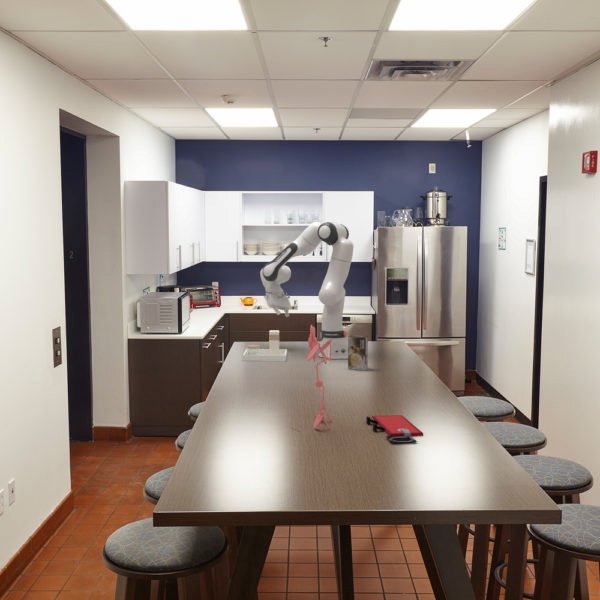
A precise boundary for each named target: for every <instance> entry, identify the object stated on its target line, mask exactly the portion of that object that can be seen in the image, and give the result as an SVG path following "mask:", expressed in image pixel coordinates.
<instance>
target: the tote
mask: <svg viewBox="0 0 600 600" xmlns="http://www.w3.org/2000/svg"><path fill="white" fill-rule="evenodd" d="M287 357H288V349H287V348H279V355H269V348H259V355H248V348H245V350H244V351H243V354H242V361H243V362H287Z"/></svg>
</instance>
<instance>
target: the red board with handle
mask: <svg viewBox="0 0 600 600" xmlns="http://www.w3.org/2000/svg"><path fill="white" fill-rule="evenodd" d="M365 418H366V423H367V424H368V425H369V424H370V425H371V424H372V432H374V433H377V432H378V430H379V431H383V432H385V434H387V435H386V436H385V437H386V438H387V439H388V441H389V442H390V443H411V442H412V443H413V442H417V443H418V441H417V440H416V439H415V438H414V437H423V436H424V432H423V431H422V430H420V429H419V428H418V427H417V426H415V424H413V423H412V422H411V421H410V420H408V419H407V418H406V417H405V416H403V415H398V414H397V415H392V414H391V415H371V417H370V416H366V417H365ZM372 418H373V419H374V420H373V419H372ZM367 424H366V425H367Z"/></svg>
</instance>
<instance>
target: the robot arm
mask: <svg viewBox="0 0 600 600" xmlns="http://www.w3.org/2000/svg"><path fill="white" fill-rule="evenodd" d="M349 237H350V233H349V229H348V227H347V226H345V225H344V224H341V223H337V222H331V221H325V222H323V223H322V222H319V221H314V222H312V223H311V224H310V225H308V226H307V227H306V228H305V229H304V230H303V231H302V232H301V234H300V235H298V237H297V238H296V239H295V240H294V241H292V242H291V243H289V244H288V245H286V247H285V248H284V249H283V250H281V252H279V253H278V255H277V256H275V258H273V260H271V261H269V262H267V263H265V264H264V265H263V267H262V268H261V270H260V271H259V273H260V274H259V275H260V280H261V283H262V286H263V287H264V289H265V300H266V301H265V302H266V304H267V306H268V307H269V308H271V309H273V311H274V312H275V313H276V315H277V316H279V315H281V311H284V316H285V317H286V318H287V317H290V313H289V310H291V308H292V305H291V301H290V300H289V297H288V293H287V291H285V290H284V289H283V288H282V287H281V284H284V283H287V282H288V281H289V280H290V279H291V277H292V270H291V269H290V266H288V265H286V264H287V263H288V262H289V261H290V260H292V259H293V258H295V257H300V256H307V255H309V254H311V253H312V252H314V251H315V249H317V247H318V246H319V245H320V244H321V243H322V242H324V243H325V244H326V245H328V246H331V247H332V252H331V256H330V259H329V264H328V268H327V271H326V275H325V277H324V279H323V282H322V284H321V287H320V290H319V292H318V300H319V301H320V303H322V304H323V310H322V314H321V329H320V347H322V346H323V345H324V344H325V343H326V342H327V341H329V340H330V339H331V340H332V341H331V360H342V359H343V360H346V359H347V360H348V337H347V335H348V332H347V331H345V330H343V314H344V313H343V312H344V308H345V299H346V298H345V297H346V289H345V287H344V285H345V283H346V280H347V278H348V275H349V273H350V267H351V264H352V261H353V254H354V243H353V242H352V241H351V240H349ZM323 352H324V354H325V355H326V357H328V358H329V356H330V344H329V346H328V347H327V348H326V349H324V350H323ZM318 357H320V358H323V357H322V354H321V353H319V352H318ZM324 358H325V357H324Z"/></svg>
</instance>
